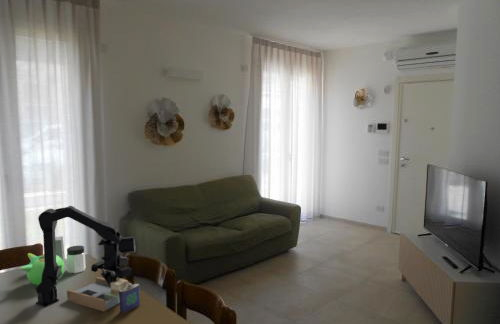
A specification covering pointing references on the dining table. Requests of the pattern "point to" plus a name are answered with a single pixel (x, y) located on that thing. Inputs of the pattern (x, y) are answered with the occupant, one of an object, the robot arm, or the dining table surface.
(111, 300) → the box
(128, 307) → the blue green box
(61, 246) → the skincare box
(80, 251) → the jar
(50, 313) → the dining table surface
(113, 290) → the block
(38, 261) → the toy bird
